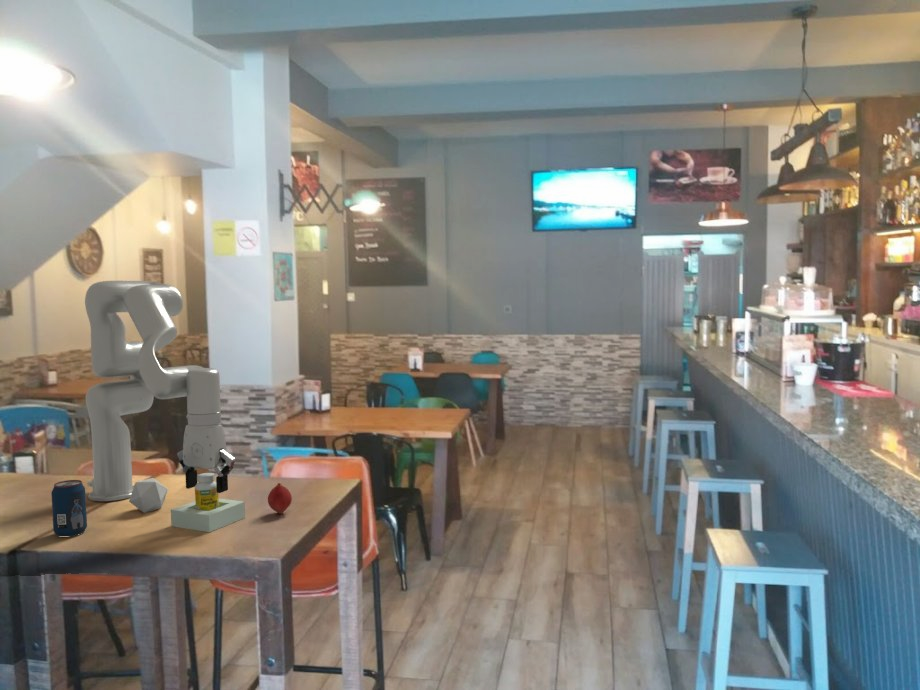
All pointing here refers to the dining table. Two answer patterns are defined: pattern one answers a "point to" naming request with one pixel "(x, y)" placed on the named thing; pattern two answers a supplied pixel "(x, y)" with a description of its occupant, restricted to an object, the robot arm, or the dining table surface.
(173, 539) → the dining table surface
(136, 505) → the die
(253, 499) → the dining table surface
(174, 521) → the sage block
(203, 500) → the supplement bottle
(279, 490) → the onion
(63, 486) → the soda can
